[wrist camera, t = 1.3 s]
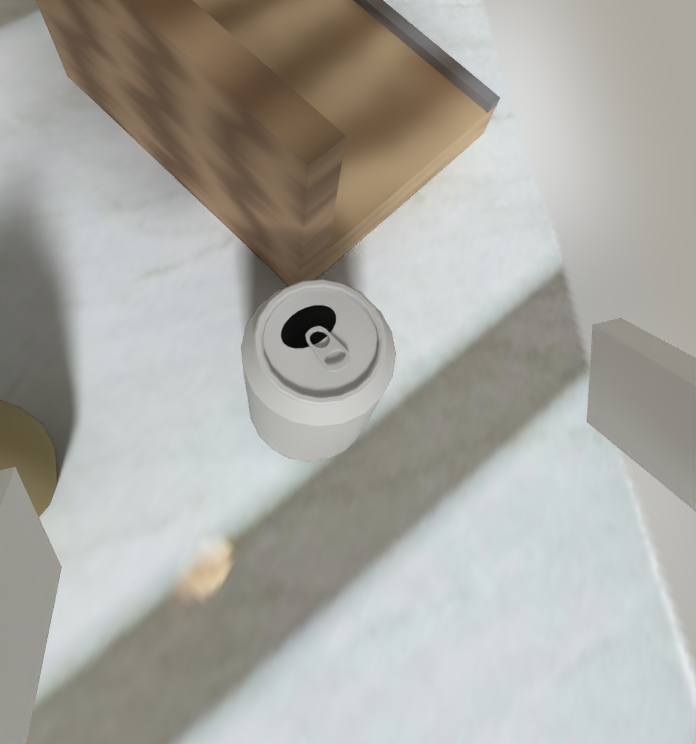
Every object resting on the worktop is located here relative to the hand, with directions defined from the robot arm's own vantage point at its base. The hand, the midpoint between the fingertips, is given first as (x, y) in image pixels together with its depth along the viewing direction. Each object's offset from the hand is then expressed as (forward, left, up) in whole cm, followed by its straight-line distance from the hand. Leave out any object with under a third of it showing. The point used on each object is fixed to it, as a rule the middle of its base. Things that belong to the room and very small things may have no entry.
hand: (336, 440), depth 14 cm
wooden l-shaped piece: (-23, +21, -25) cm, 39 cm away
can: (-5, +6, -25) cm, 26 cm away
